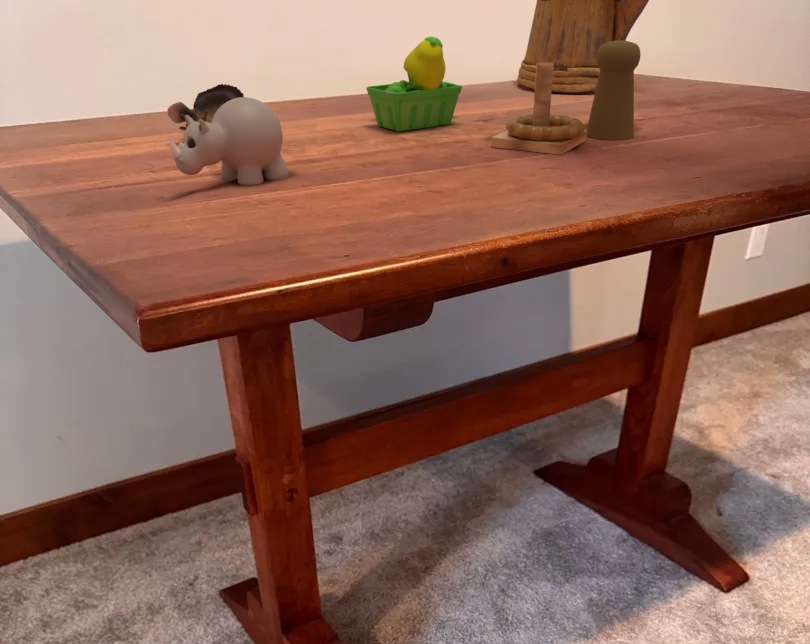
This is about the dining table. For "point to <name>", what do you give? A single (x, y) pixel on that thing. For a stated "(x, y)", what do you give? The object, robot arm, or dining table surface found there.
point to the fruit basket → (417, 92)
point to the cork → (614, 92)
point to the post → (539, 120)
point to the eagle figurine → (204, 104)
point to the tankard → (575, 39)
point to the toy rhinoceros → (235, 143)
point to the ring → (545, 128)
